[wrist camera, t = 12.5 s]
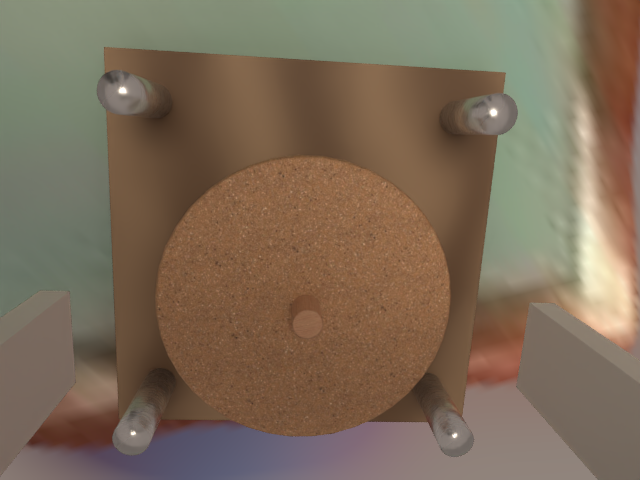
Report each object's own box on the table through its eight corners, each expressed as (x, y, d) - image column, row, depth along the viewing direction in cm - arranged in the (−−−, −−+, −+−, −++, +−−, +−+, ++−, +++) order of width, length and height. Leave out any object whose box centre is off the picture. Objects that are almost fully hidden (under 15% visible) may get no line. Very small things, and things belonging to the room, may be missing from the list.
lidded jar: (170, 172, 24) (96, 197, 15) (385, 128, 24) (445, 126, 15) (223, 369, 26) (187, 496, 17) (417, 328, 26) (486, 432, 17)
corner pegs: (145, 395, 26) (113, 455, 21) (137, 82, 23) (95, 68, 18) (439, 399, 27) (471, 456, 22) (473, 101, 24) (520, 94, 19)
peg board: (127, 403, 28) (119, 419, 26) (115, 52, 24) (103, 46, 22) (452, 407, 29) (461, 422, 28) (493, 76, 25) (505, 72, 24)
